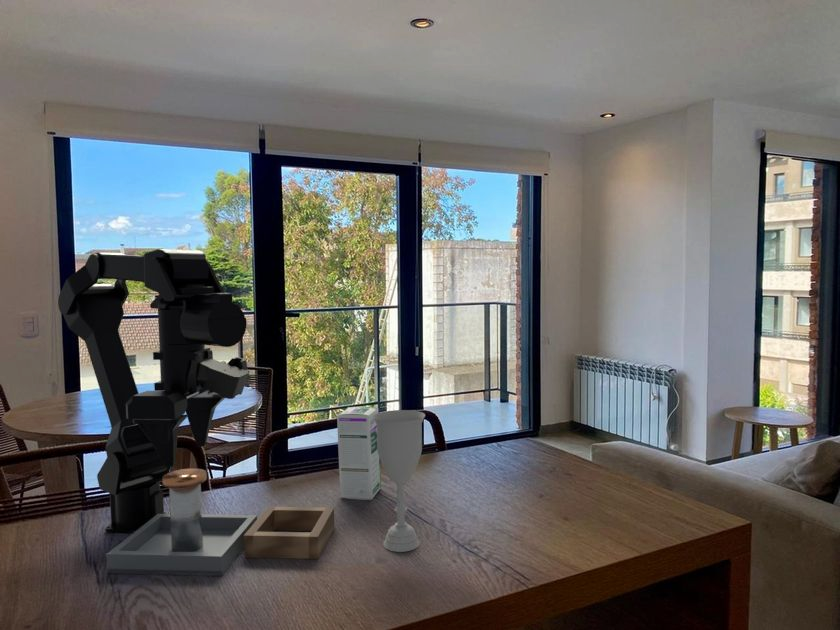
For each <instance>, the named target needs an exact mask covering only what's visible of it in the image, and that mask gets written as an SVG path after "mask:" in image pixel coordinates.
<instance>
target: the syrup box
mask: <svg viewBox="0 0 840 630" xmlns="http://www.w3.org/2000/svg"><path fill="white" fill-rule="evenodd" d="M377 413H379V408H377V407H371V406H351V407H350V406H347V408H346V409H345V410H343V411H342V412H340V413H339V414H337V415H336V420H337V421H336V423H337V424H336V425H337V448H338V449H337V450H338V451H337V452H338V453H337V454H338V474H339V496H340V498H341V499H348V500H361V501H362V500H363V501H373V499H374V497H375V496H376V495H377V493H379V491H380V490H381V489H382V475H381V470H382V469H381V461H380V458H379V455H378V452H377V424H376V422H375V421H374V419H373V416H374V415H375V414H377Z"/></svg>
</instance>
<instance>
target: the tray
mask: <svg viewBox="0 0 840 630" xmlns="http://www.w3.org/2000/svg"><path fill="white" fill-rule="evenodd" d="M257 519H258V515H257V514H210V513H209V514H206V513H205V514H204V513H202V531H203V546H202V547H201V548H200V549H198V550H196V551H193V552H173V551H172V545H171V522H170V513H166V514H157V515H156V516H154V517H153V518H152V519H151V520H149V521H148V522H147V523H145V524H144V525H143V526H142V527H140V528H139V529H138V530H137V531H135V532H132V533H131V534H130V535H129V536H128V537H126V538H125V539H124V540H122V542H120V543H119V544H117V545H116V546H115V547H113V548H112V549H111V550H110V551H109V552H107V553H105V554H106V573H107V574H120V575H121V574H125V575H132V574H133V575H164V576H165V575H169V576H171V575H175V576H179V575H180V576H212V577H213V576H214V577H215V576H216V577H218V576H219V577H222V576H224V574H225V573H226V572H227V570H229V568H230V567H231V565H233V563H234V562H235V561H236V559H237V558H238V557H239V556H240V554H241V553H242V552H244V535H245V533H246V532H247V531H248V530H249V529H250V527H251V526H252V525H253V524H254V523H255V522H256V520H257Z"/></svg>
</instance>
